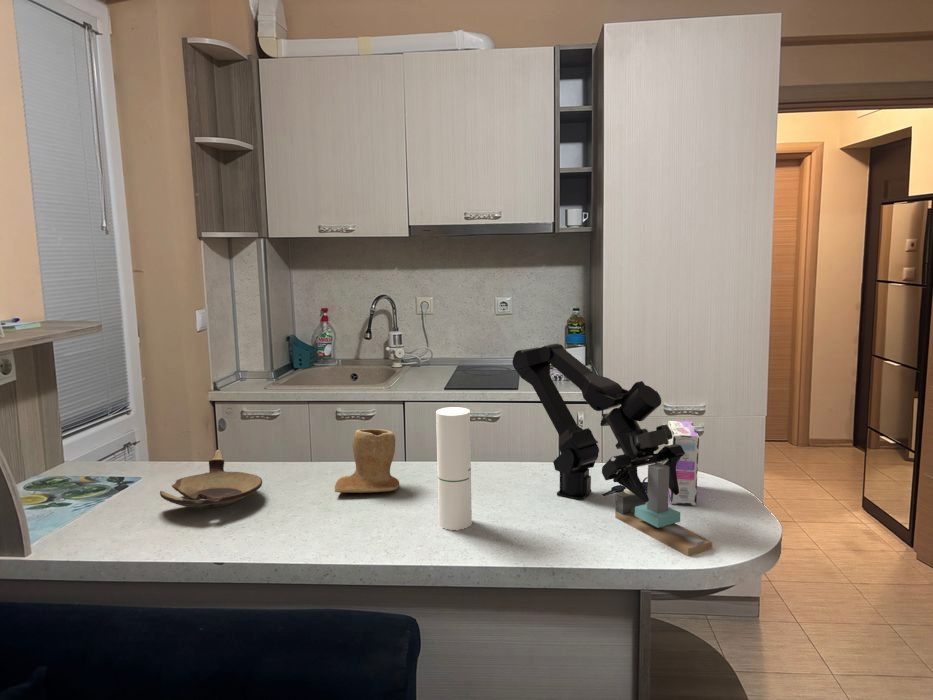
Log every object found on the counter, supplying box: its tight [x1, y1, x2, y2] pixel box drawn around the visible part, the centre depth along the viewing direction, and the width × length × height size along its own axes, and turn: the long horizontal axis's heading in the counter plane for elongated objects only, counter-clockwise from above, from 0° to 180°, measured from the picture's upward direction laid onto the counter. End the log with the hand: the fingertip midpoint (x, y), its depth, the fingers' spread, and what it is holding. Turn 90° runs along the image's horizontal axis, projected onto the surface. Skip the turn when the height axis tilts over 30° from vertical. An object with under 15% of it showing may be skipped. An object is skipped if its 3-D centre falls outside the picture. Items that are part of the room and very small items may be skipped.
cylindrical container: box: [435, 406, 473, 531], centre depth 152 cm, size 7×7×25 cm
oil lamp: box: [159, 449, 263, 509], centre depth 170 cm, size 22×30×8 cm
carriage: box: [635, 463, 681, 528], centre depth 148 cm, size 7×6×12 cm
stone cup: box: [334, 428, 400, 494], centre depth 174 cm, size 15×12×15 cm
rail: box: [614, 488, 713, 557], centre depth 147 cm, size 22×6×6 cm, turn 28°
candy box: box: [667, 420, 700, 507], centre depth 167 cm, size 14×6×16 cm, turn 168°
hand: (662, 497), depth 146 cm, fingers open, 8 cm apart
